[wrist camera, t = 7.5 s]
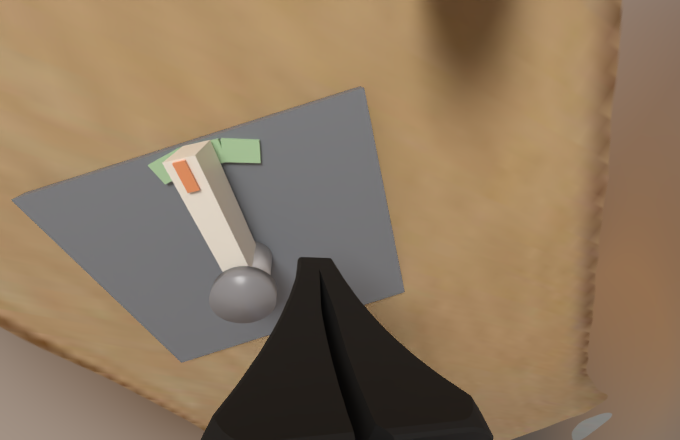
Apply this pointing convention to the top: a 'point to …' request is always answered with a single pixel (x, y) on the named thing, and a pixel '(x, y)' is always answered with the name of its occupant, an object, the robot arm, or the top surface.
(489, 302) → the top surface
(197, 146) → the peg key
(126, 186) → the dial board
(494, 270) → the top surface
